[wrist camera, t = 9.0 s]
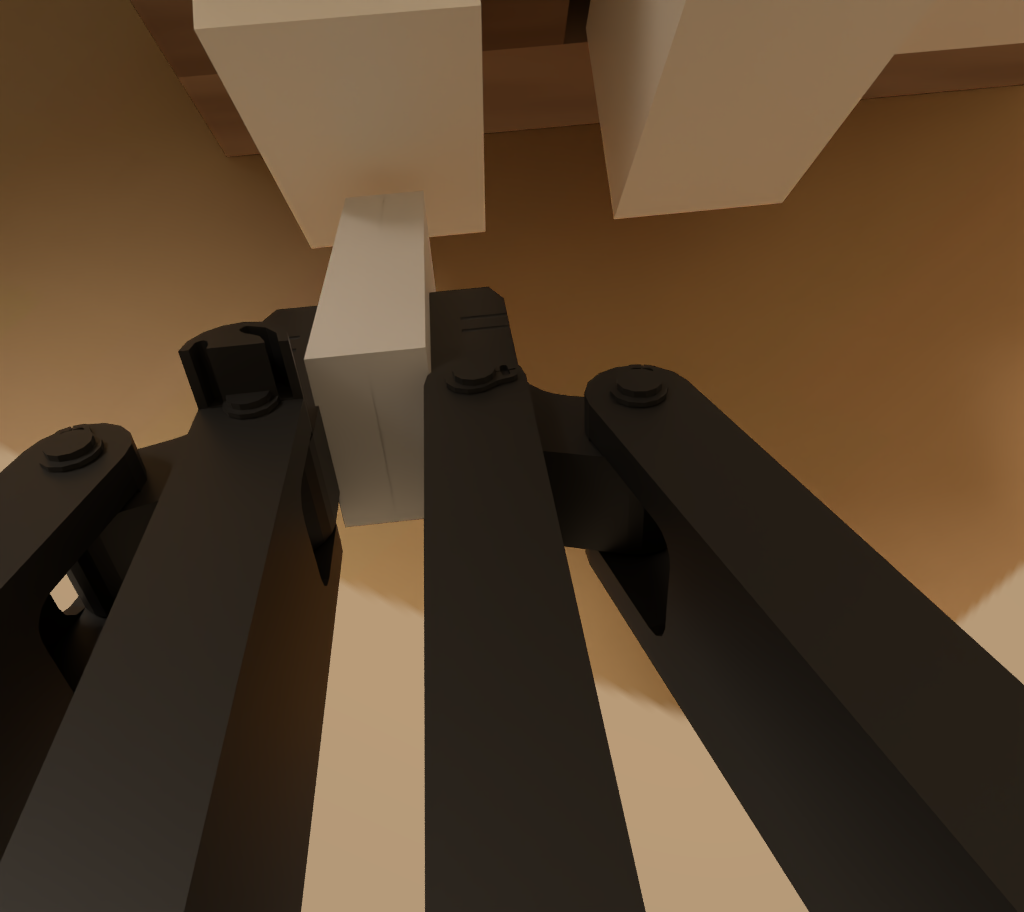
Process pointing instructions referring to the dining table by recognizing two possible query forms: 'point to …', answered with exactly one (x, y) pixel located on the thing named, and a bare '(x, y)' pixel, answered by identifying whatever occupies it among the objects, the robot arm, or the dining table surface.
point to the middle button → (730, 92)
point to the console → (544, 68)
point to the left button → (358, 101)
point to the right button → (967, 25)
